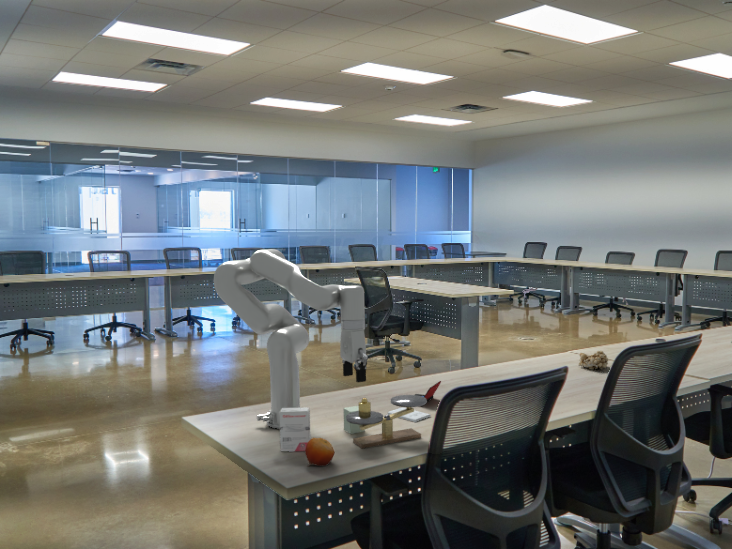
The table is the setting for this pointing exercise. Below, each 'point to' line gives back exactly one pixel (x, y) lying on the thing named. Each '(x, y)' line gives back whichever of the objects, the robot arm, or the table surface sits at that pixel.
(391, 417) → the balance
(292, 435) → the ink box
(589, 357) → the mineral formation
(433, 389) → the handheld game console
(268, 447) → the table surface
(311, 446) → the fruit
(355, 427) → the sage block
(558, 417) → the table surface
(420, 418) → the external hard drive
